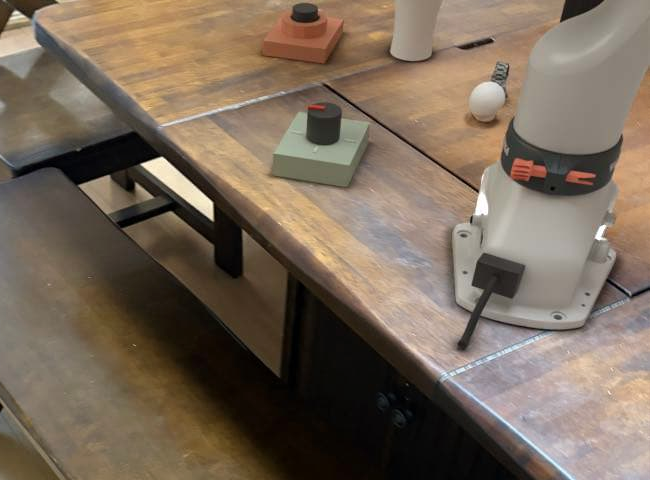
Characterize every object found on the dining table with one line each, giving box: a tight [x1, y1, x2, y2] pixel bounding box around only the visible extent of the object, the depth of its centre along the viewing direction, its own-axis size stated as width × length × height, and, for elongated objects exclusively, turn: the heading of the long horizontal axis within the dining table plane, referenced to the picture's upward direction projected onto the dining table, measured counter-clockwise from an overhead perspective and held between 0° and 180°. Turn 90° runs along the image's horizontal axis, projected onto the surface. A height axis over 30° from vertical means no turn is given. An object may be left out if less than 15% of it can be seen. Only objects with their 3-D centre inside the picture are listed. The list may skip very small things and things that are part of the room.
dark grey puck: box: [291, 2, 319, 23], centre depth 136 cm, size 4×4×2 cm
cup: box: [389, 0, 443, 62], centre depth 132 cm, size 10×10×14 cm
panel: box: [272, 111, 371, 188], centre depth 115 cm, size 12×10×3 cm
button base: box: [262, 9, 345, 64], centre depth 138 cm, size 12×10×4 cm
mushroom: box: [468, 81, 506, 123], centre depth 121 cm, size 5×5×5 cm
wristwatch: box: [489, 60, 511, 99], centre depth 126 cm, size 3×5×5 cm
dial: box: [306, 101, 343, 145], centre depth 112 cm, size 4×4×4 cm
